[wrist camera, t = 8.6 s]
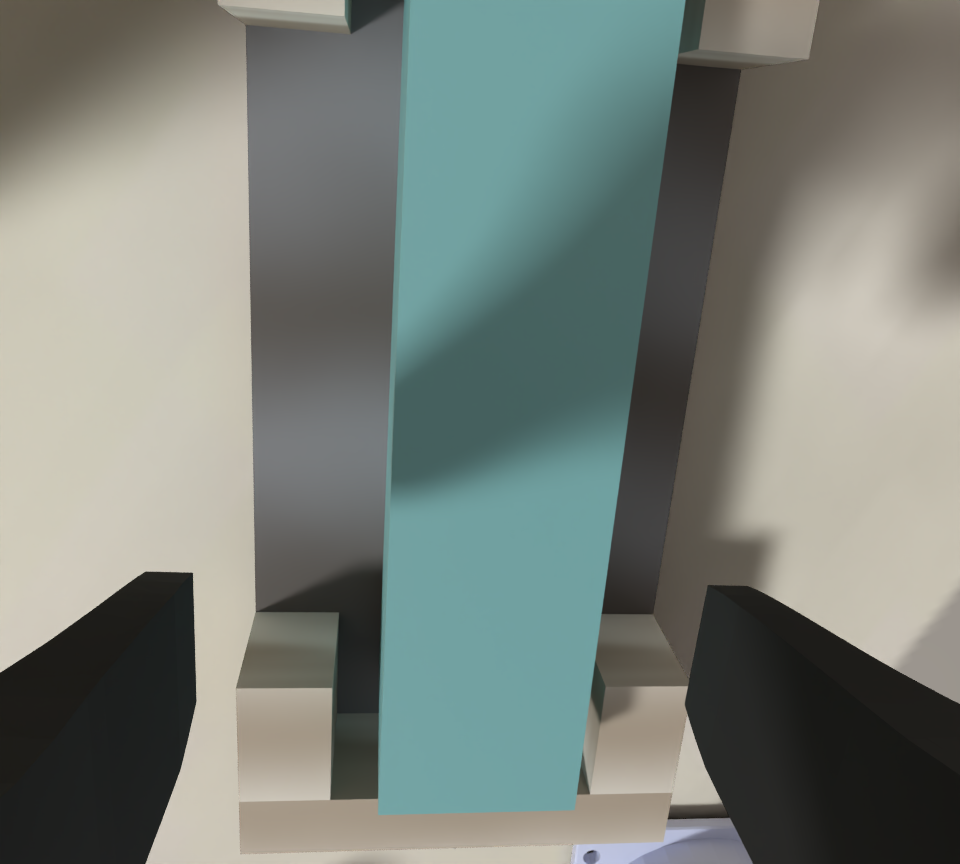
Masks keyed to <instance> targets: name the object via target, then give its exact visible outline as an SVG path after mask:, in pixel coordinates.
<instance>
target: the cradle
mask: <svg viewBox="0 0 960 864" xmlns="http://www.w3.org/2000/svg"><path fill="white" fill-rule="evenodd" d="M819 1H820V0H686V1H685V8H684V15H683V23H682V30H681V37H680V45H679V52H678V59H677V66H676V74H675V81H674V88H673V96H672V103H671V110H670V118H669V125H668V132H667V139H666V147H665V154H664V161H663V169H662V176H661V183H660V191H659V198H658V205H657V212H656V220H655V227H654V234H653V242H652V249H651V256H650V263H649V271H648V278H647V285H646V293H645V300H644V307H643V315H642V322H641V329H640V336H639V344H638V351H637V358H636V366H635V373H634V380H633V388H632V395H631V402H630V409H629V417H628V424H627V431H626V439H625V446H624V453H623V461H622V468H621V475H620V482H619V490H618V497H617V504H616V512H615V519H614V526H613V534H612V541H611V548H610V555H609V563H608V570H607V577H606V585H605V592H604V599H603V607H602V614H601V621H600V628H599V636H598V643H597V650H596V658H595V665H594V672H593V680H592V687H591V694H590V701H589V709H588V716H587V723H586V731H585V738H584V745H583V753H582V760H581V767H580V774H579V782H578V789H577V796H576V804H575V810H566V811H526V812H486V813H445V814H405V815H378V749H379V654H380V628H381V601H382V575H383V548H384V521H385V495H386V468H387V442H388V415H389V388H390V362H391V335H392V309H393V282H394V256H395V229H396V202H397V176H398V149H399V123H400V96H401V69H402V43H403V16H404V0H218V5H219V6H220V7H222V8H223V9H225V10H226V11H227V12H229V13H230V14H231V15H233V16H234V17H236V18H237V19H238V20H240V21H241V22H243V23H244V24H245V25H246V56H247V116H248V175H249V234H250V294H251V353H252V412H253V472H254V531H255V590H256V613H255V617H254V621H253V625H252V629H251V633H250V637H249V640H248V644H247V648H246V652H245V656H244V660H243V663H242V667H241V671H240V675H239V679H238V683H237V687H236V707H237V745H238V782H239V820H240V854H264V853H299V852H334V851H369V850H404V849H439V848H474V847H509V846H544V845H579V844H614V843H649V842H663V841H664V836H665V830H666V825H667V820H668V814H669V809H670V803H671V798H672V793H673V787H674V782H675V776H676V771H677V766H678V760H679V755H680V750H681V744H682V739H683V733H684V728H685V723H686V717H687V711H686V708H685V699H686V694H687V689H688V684H689V679H688V678H687V676H686V674H685V672H684V670H683V669H682V667H681V665H680V663H679V661H678V659H677V658H676V656H675V654H674V652H673V650H672V649H671V647H670V645H669V643H668V641H667V639H666V638H665V636H664V634H663V632H662V630H661V629H660V627H659V625H658V623H657V621H656V619H655V618H654V616H653V610H654V604H655V597H656V591H657V585H658V579H659V573H660V567H661V560H662V554H663V548H664V542H665V536H666V529H667V523H668V517H669V511H670V505H671V499H672V492H673V486H674V480H675V474H676V468H677V462H678V455H679V449H680V443H681V437H682V431H683V425H684V418H685V412H686V406H687V400H688V394H689V387H690V381H691V375H692V369H693V363H694V357H695V350H696V344H697V338H698V332H699V326H700V320H701V313H702V307H703V301H704V295H705V289H706V282H707V276H708V270H709V264H710V258H711V252H712V245H713V239H714V233H715V227H716V221H717V215H718V208H719V202H720V196H721V190H722V184H723V178H724V171H725V165H726V159H727V153H728V147H729V140H730V134H731V128H732V122H733V116H734V110H735V103H736V97H737V91H738V85H739V79H740V73H741V69H748V68H755V67H762V66H768V65H775V64H782V63H788V62H795V61H802V60H808V59H809V55H810V50H811V44H812V39H813V34H814V28H815V23H816V17H817V12H818V7H819Z"/></svg>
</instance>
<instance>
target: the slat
mask: <svg viewBox="0 0 960 864" xmlns="http://www.w3.org/2000/svg"><path fill="white" fill-rule="evenodd" d="M685 1H686V0H404V16H403V43H402V69H401V96H400V123H399V149H398V176H397V202H396V229H395V256H394V282H393V309H392V335H391V362H390V388H389V415H388V442H387V468H386V495H385V521H384V548H383V575H382V601H381V628H380V654H379V749H378V815H405V814H445V813H486V812H526V811H566V810H575V804H576V796H577V789H578V782H579V774H580V767H581V760H582V753H583V745H584V738H585V731H586V723H587V716H588V709H589V701H590V694H591V687H592V680H593V672H594V665H595V658H596V650H597V643H598V636H599V628H600V621H601V614H602V607H603V599H604V592H605V585H606V577H607V570H608V563H609V555H610V548H611V541H612V534H613V526H614V519H615V512H616V504H617V497H618V490H619V482H620V475H621V468H622V461H623V453H624V446H625V439H626V431H627V424H628V417H629V409H630V402H631V395H632V388H633V380H634V373H635V366H636V358H637V351H638V344H639V336H640V329H641V322H642V315H643V307H644V300H645V293H646V285H647V278H648V271H649V263H650V256H651V249H652V242H653V234H654V227H655V220H656V212H657V205H658V198H659V191H660V183H661V176H662V169H663V161H664V154H665V147H666V139H667V132H668V125H669V118H670V110H671V103H672V96H673V88H674V81H675V74H676V66H677V59H678V52H679V45H680V37H681V30H682V23H683V15H684V8H685Z"/></svg>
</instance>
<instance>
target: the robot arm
mask: <svg viewBox="0 0 960 864" xmlns="http://www.w3.org/2000/svg"><path fill="white" fill-rule="evenodd" d="M195 705H196V671H195V634H194V598H193V573H180V572H144V573H143V574H141V575H140V576H138V577H137V578H135V579H134V580H132V581H131V582H130V583H128V584H127V585H125V586H124V587H123V588H121V589H120V590H119V591H117V592H116V593H115V594H113V595H112V596H111V597H109V598H108V599H107V600H105V601H104V602H103V603H101V604H100V605H98V606H97V607H96V608H94V609H93V610H92V611H90V612H89V613H88V614H86V615H85V616H83V617H82V618H81V619H79V620H78V621H76V622H75V623H74V624H72V625H71V626H69V627H68V628H67V629H65V630H64V631H62V632H61V633H60V634H58V635H57V636H56V637H54V638H53V639H51V640H50V641H48V642H47V643H46V644H44V645H42V646H41V647H39V648H38V649H36V650H35V651H33V652H32V653H30V654H29V655H27V656H25V657H24V658H22V659H21V660H19V661H18V662H16V663H15V664H13V665H12V666H10V667H8V668H7V669H5V670H4V671H2V672H1V673H0V864H145V863H146V861H147V858H148V855H149V853H150V850H151V847H152V845H153V842H154V839H155V837H156V834H157V832H158V829H159V826H160V824H161V821H162V818H163V816H164V813H165V810H166V807H167V805H168V802H169V799H170V797H171V794H172V791H173V789H174V786H175V783H176V780H177V778H178V775H179V772H180V769H181V765H182V761H183V757H184V753H185V749H186V745H187V741H188V737H189V732H190V728H191V723H192V719H193V714H194V710H195ZM685 708H686V711H687V714H688V717H689V720H690V724H691V727H692V730H693V733H694V736H695V739H696V742H697V745H698V748H699V751H700V754H701V756H702V759H703V762H704V765H705V768H706V770H707V772H708V774H709V776H710V778H711V780H712V782H713V784H714V786H715V788H716V790H717V793H718V795H719V797H720V799H721V801H722V803H723V805H724V807H725V809H726V811H727V813H728V815H729V817H730V818H709V819H670V820H667V825H666V830H665V836H664V841H663V842H649V843H614V844H579V845H573V850H572V857H571V864H960V704H959V703H957V702H955V701H952V700H951V699H949V698H947V697H945V696H943V695H941V694H939V693H937V692H935V691H934V690H932V689H930V688H928V687H926V686H924V685H922V684H920V683H918V682H917V681H915V680H913V679H911V678H909V677H907V676H906V675H904V674H902V673H900V672H898V671H896V670H895V669H893V668H891V667H889V666H888V665H886V664H884V663H882V662H881V661H879V660H877V659H875V658H874V657H872V656H870V655H868V654H867V653H865V652H863V651H862V650H860V649H858V648H857V647H855V646H853V645H851V644H850V643H848V642H846V641H845V640H843V639H841V638H840V637H838V636H836V635H835V634H833V633H831V632H830V631H828V630H826V629H825V628H823V627H821V626H820V625H818V624H816V623H815V622H813V621H811V620H810V619H808V618H806V617H805V616H803V615H801V614H800V613H798V612H796V611H795V610H793V609H791V608H789V607H788V606H786V605H784V604H782V603H781V602H779V601H777V600H775V599H773V598H772V597H770V596H768V595H766V594H764V593H762V592H760V591H758V590H756V589H753V588H751V587H749V586H718V585H708V587H707V592H706V597H705V603H704V608H703V613H702V618H701V623H700V628H699V633H698V638H697V643H696V648H695V653H694V658H693V663H692V668H691V673H690V679H689V684H688V689H687V694H686V699H685ZM591 850H595V851H593V852H592V853H587V852H588V851H591Z"/></svg>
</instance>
